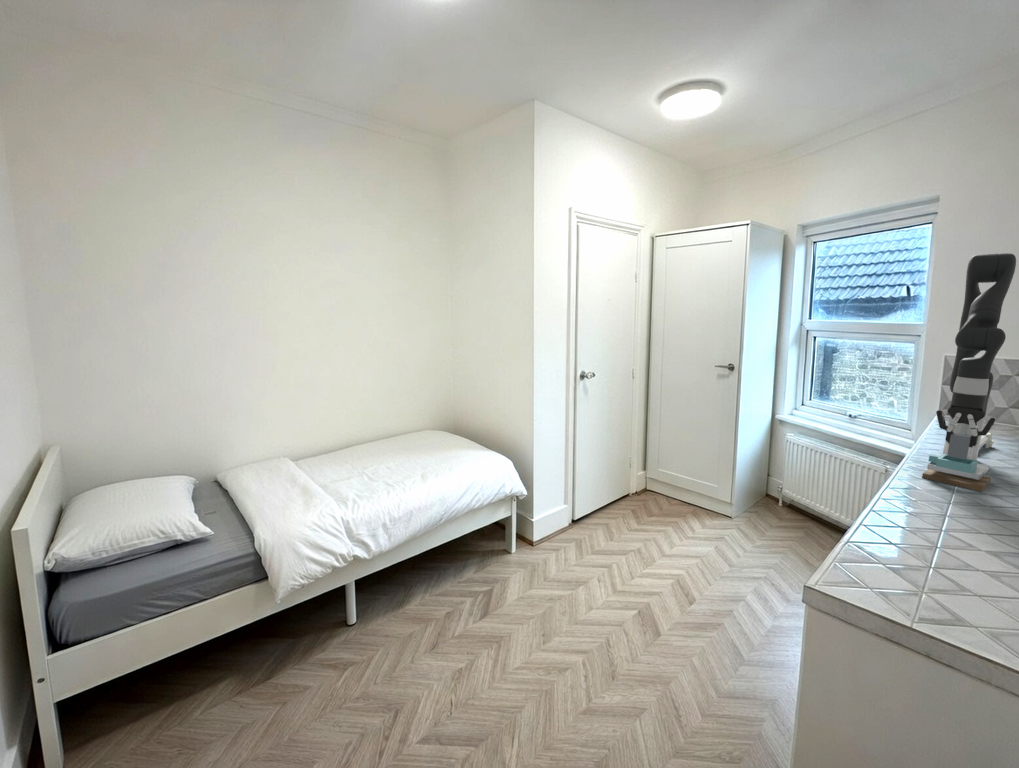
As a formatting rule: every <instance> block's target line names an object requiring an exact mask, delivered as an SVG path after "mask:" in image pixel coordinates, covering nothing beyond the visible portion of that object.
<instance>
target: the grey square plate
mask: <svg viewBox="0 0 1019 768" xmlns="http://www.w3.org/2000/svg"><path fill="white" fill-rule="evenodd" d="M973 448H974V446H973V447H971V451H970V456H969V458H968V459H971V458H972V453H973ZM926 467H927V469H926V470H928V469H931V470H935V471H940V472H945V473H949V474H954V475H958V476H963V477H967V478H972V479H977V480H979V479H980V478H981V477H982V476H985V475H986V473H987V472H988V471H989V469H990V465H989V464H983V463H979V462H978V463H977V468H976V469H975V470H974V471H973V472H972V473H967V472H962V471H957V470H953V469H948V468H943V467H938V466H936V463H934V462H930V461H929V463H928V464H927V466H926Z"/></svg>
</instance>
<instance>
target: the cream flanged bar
mask: <svg viewBox="0 0 1019 768" xmlns="http://www.w3.org/2000/svg"><path fill="white" fill-rule="evenodd" d="M992 438H993V435H992V433H991V432H990V431H989V432H988V433H987V434H986V435H982V436H981V441H980V447H979V450H980V449H981V448H982V447H985V448H984V449H990V448H989V447H993V444H994V443H995V441H994V439H992Z"/></svg>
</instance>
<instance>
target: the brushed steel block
mask: <svg viewBox="0 0 1019 768" xmlns="http://www.w3.org/2000/svg"><path fill="white" fill-rule="evenodd" d="M970 441H971V435H965V434H959V433H953V434H951V437H950V442H949V448H948V453H947V456H951V457H956V458H961V459H966V460H967V459H968V458H969V456H970V451H971V447H970Z"/></svg>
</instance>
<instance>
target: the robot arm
mask: <svg viewBox="0 0 1019 768" xmlns="http://www.w3.org/2000/svg"><path fill="white" fill-rule="evenodd" d="M1016 267H1017V258H1016V255H1015V254H1013V253H1007V252H1004V253H987V254H986V253H985V254H976V255H975V254H974V255H973V256H971V258H970V259H969V260H968V263H967V266H966V268H967V269H966V275H965V276H966V279H965V291H964V292H965V293H964V301H963V307H962V308H963V309H962V312H961V313H962V314H961V317H960V322H959V329H958V332H957V334H956V336H955V337H954V343H955V345H956V353H955V354H956V355H955V359H954V364H953V368H952V371H951V374H950V375H951V376H950V380H949V390H950V392H951V393H952V395H951V396H952V397H951V400H950V401H951V402H950V406H949V408H947V409H938V410H936V411H935V414H936V418H937V421H938V427H939V429H941V430H945V432H946V434H945V440H944V446H943V451H942V455H943V454H946V455H947V453H948V448H949V442H950V437H951V434H953V433H959V434H965V435H971V441H970V447H973V446H974V448H973V453H972V458H971V459H972V460H977V461H978V455H979V452H980V449H979V447H980V441H981V436H982V435H986V434H987V433H988V432H989V433H990V431H991V429H992V427H993V426H994V425H995V423H996V422H997V420H998V418H997V417H996V416H990V415H987V414H986V413H987V408H988V403H989V399H990V395H991V392H992V388H993V383H994V375H993V372H991V370H992V365H993V362H994V360H995V358H996V356H997V354H998V353H999V351H1000V350H1001V348H1002V347H1003V345H1004V343H1005V341H1006V336H1007V335H1006V333H1005V331H1004V330H1003V329H1002V328H999V327H998V325H999V322H1000V319H1001V314H1002V310H1003V309H1002V307H1003V304H1004V302H1005V301H1004V300H1005V298H1006V296H1007V293H1008V291H1009V289H1010V286H1011V283H1012V282H1013V281H1012V280H1013V278H1014V275H1015V272H1016ZM980 283H982V284H984V283H987V284H988V283H994V284H993V285H992V286H991V287H989V288H988V289H986V290H985V291H984V292H981V289H980V285H979V284H980ZM981 351H982V352H983V351H984V352H985V353H984V354H982V355H980V356H977V355H978V354H979V353H980V352H981ZM975 356H976V357H975ZM947 414H948V415H949V418H948V424H947V422H946V418H945V417H946V416H947ZM985 423H986V424H985ZM984 424H985V426H984Z"/></svg>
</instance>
